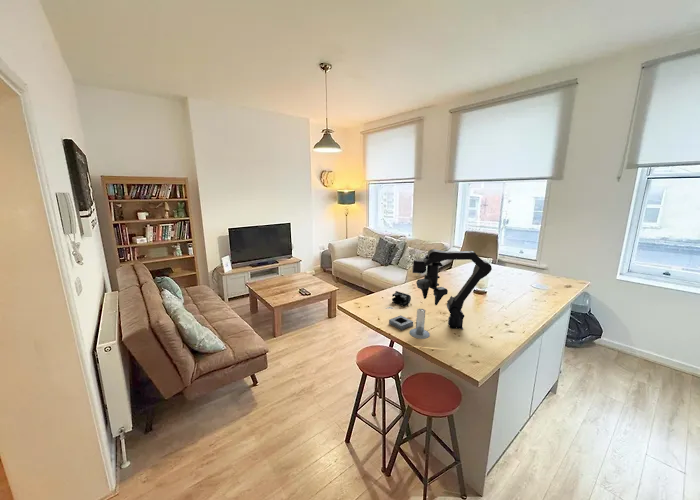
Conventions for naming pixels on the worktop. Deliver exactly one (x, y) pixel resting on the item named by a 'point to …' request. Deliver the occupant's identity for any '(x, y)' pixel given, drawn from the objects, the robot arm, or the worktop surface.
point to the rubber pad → (425, 335)
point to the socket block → (400, 322)
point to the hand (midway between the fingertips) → (430, 301)
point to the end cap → (401, 298)
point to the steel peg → (420, 321)
